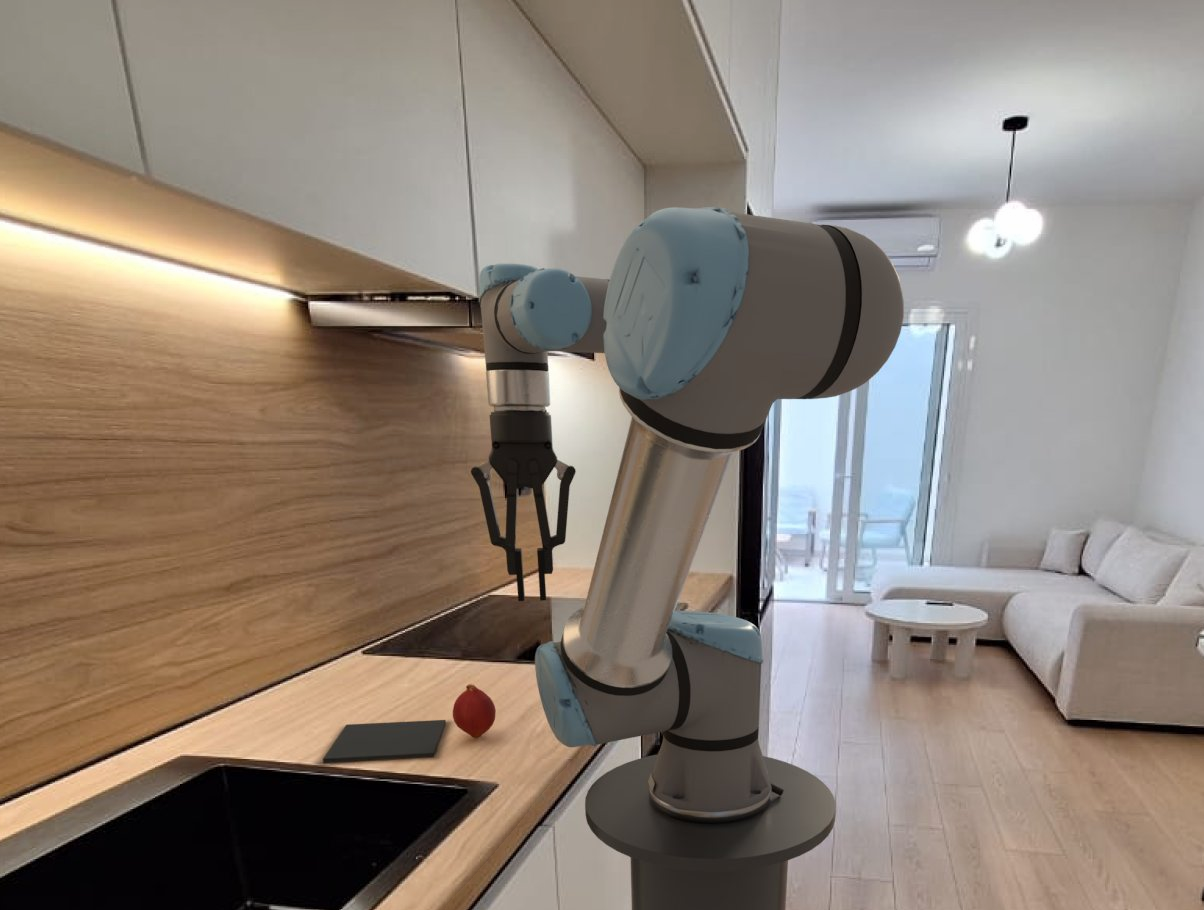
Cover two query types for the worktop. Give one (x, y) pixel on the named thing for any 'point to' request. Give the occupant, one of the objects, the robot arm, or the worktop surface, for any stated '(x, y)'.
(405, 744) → the mat
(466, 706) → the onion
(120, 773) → the worktop surface
